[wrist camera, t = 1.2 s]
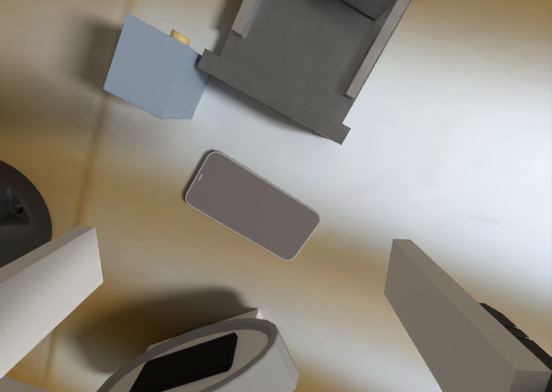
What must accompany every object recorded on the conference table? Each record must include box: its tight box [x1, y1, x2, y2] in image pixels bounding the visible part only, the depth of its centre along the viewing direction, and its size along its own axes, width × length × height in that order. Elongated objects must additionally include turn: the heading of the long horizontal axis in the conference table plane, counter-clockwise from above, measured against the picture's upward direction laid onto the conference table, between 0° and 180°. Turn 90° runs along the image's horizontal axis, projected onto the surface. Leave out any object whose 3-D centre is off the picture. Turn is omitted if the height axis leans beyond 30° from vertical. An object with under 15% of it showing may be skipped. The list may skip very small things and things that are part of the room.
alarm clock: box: [97, 309, 299, 392], centre depth 32 cm, size 23×6×13 cm, turn 112°
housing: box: [103, 13, 210, 119], centre depth 26 cm, size 5×7×8 cm
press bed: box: [198, 0, 411, 145], centre depth 25 cm, size 14×15×7 cm
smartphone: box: [185, 151, 320, 261], centre depth 33 cm, size 7×1×15 cm
